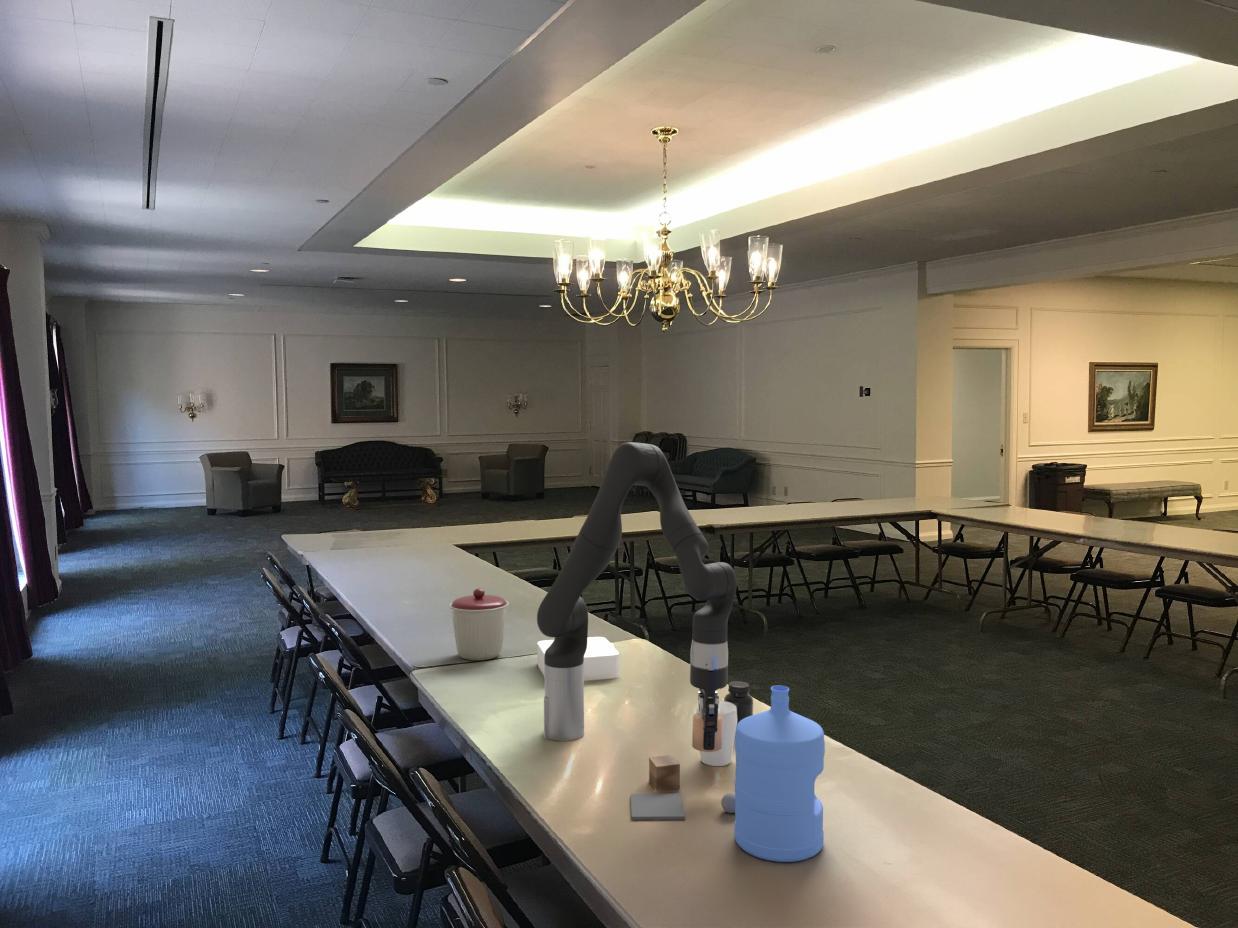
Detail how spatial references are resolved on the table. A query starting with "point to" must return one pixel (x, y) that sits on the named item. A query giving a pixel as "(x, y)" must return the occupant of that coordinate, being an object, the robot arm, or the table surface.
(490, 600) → the canister
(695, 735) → the peach rounded capsule
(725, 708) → the cup
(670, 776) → the walnut block
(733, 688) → the supplement bottle
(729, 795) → the grey ball
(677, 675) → the table surface
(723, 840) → the table surface
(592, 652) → the projector
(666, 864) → the table surface
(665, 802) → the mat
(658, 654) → the table surface
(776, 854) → the water jug
